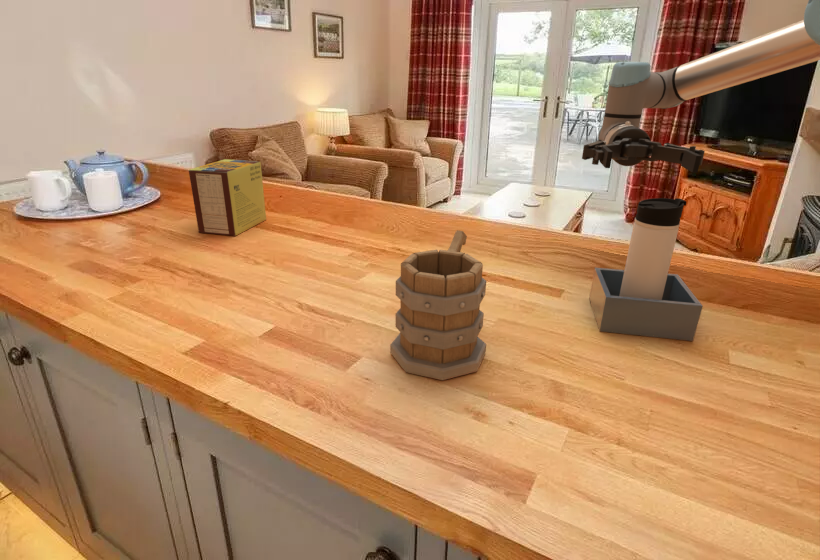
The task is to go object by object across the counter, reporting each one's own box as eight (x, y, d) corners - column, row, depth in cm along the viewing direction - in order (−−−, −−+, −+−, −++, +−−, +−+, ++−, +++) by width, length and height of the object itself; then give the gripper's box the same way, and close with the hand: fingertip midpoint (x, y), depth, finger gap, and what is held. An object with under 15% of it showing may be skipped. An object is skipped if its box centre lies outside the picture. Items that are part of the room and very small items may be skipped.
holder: (670, 305, 86) (678, 274, 84) (693, 341, 75) (703, 305, 72) (589, 298, 88) (594, 267, 86) (599, 331, 77) (606, 296, 75)
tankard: (470, 387, 63) (478, 279, 57) (379, 367, 67) (378, 264, 61) (500, 320, 80) (508, 231, 74) (426, 307, 84) (429, 222, 78)
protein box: (267, 219, 132) (261, 160, 125) (235, 236, 118) (227, 171, 112) (232, 216, 134) (224, 158, 128) (197, 232, 120) (186, 169, 114)
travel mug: (665, 327, 79) (695, 204, 71) (624, 326, 79) (650, 204, 71) (648, 309, 84) (674, 195, 77) (610, 309, 84) (632, 194, 77)
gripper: (566, 123, 101) (577, 135, 82) (697, 128, 96) (742, 142, 77) (561, 160, 104) (570, 180, 85) (688, 166, 99) (728, 189, 80)
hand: (652, 162), depth 81 cm, fingers open, 13 cm apart
